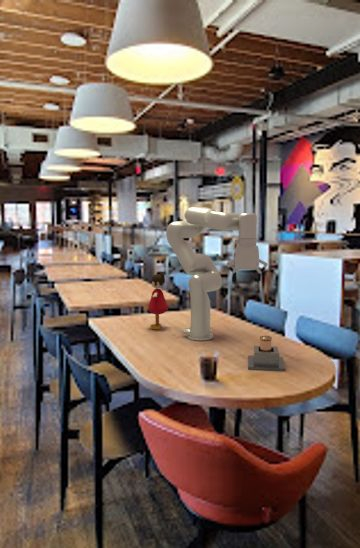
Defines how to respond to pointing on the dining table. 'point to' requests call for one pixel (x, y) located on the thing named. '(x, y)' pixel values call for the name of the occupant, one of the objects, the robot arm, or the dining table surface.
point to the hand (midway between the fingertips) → (246, 282)
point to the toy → (157, 299)
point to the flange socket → (266, 360)
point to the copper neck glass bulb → (265, 343)
